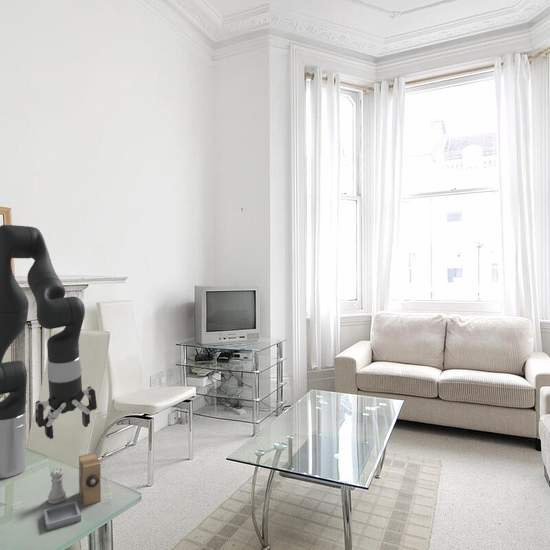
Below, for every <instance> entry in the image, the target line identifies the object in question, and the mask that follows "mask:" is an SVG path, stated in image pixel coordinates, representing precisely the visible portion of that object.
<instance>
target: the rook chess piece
mask: <svg viewBox="0 0 550 550" xmlns="http://www.w3.org/2000/svg"><path fill="white" fill-rule="evenodd" d="M64 473H65V472H64V471H63V468H62V467H59V468H58V467H57V468H54V469H52V470H51V473H50V474H49V475H50V477H51V488H50V489H51V490H50V492H49V494H48V496H47V502H48V503H49V504H51V505H58V504H60V503H63V502H64V501H65V500H66V499H67V491H66V490H65V488H64V485H63V480H64V478H63V475H64Z"/></svg>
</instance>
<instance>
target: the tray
mask: <svg viewBox="0 0 550 550" xmlns="http://www.w3.org/2000/svg"><path fill="white" fill-rule="evenodd" d="M43 520H44V525H45V530H46V532H48V531H52V530H56V529H58V528H62V527H65V526H68V525H71V524H76V523H79V522H81V521H82V513H81V511H80V508H79V506H78V502H77V500H74V501H72V502H67V503H63V504H61V505H60V504H59V505H57V506H54V507H49V508H46V509H43Z"/></svg>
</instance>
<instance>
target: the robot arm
mask: <svg viewBox="0 0 550 550" xmlns="http://www.w3.org/2000/svg"><path fill="white" fill-rule="evenodd" d="M12 259H26V260H27V259H33V260H34V261H33V263H32V265H31V267H30V268H29V270H28V272H27V276H26V277H27V279H26V280H27V285H28V286H29V289H30V291H31V292H32V294H33V296H34V299H35V303H36V319H37V323H38V325H39V326H41V328H43V329H47V330H53V329H57V328H58V329H59V328H63V327H64V328H63V330H61V331H59V332H58V333H55V334H53V335H51V336H49V338H48V339H47V343H46V347H47V348H46V349H47V380H48V391H49V393H48V395H49V396H48V399H47V400H45V401H41V400H36V401H35V408H34V410H35V417H34V418H35V420H34V421H35V423H36V424H37V426H38V427H39V428H42V427H44V432H45V433H44V435H45V436H46V437H47V438H49V440H52V439H54V428H53V427H54V426H53V423H54V422H55V420H56V419H58V417H59V416H60V414H62V415H63V414H66V413H68V412H73V411H75V410H76V408H77V409H78V410H80V411H81V422H82V425H83V427H84V428H87V427H89V425H90V422H91V418H90V416H91V415H90V414H91V412H92V411H96V410H97V408H98V405H97V397H96V390H95V389H94V388H93V387H92V386H88V387H87V388H86V389H84V390H83V384H82V371H83V370H82V364H81V360H80V346H79V345H80V344H79V342H80V341H79V340H80V335H81V331H82V327H83V323H84V319H85V316H86V314H85V313H86V307H85V304H84V302H83V301H82V299H80V298H79V297H78V296H67V297H66V296H65V295H66V288H65V286H64V285H63V282H61V279H60V278H59V276H58V274H57V272H56V271H55V268H54V266H53V263H52V259H51V257H50V252H49V250H48V247H47V244H46V241H45V238H44V236H43V233H42V232H41V231H40V229H38V228H37V227H35V226H30V225H28V226H27V225H26V226H25V225H16V224H15V225H14V224H2V225H0V395H5V394H8V395H7V396H6V397H5V398H3V399H2V400H1V401H0V479H7V478H11V477H14V476H17V475H19V474H21V473H23V472H24V471H25V470H26V467H27V466H26V465H27V462H26V460H27V459H26V458H27V457H26V455H27V454H26V452H27V451H26V449H27V448H26V405H27V388H28V387H27V384H28V372H27V371H28V370H27V367H26V364H25V362H24V361H22V360H12V361H5V362H4V361H3V360H4V357H5V355H6V352H7V351H8V349H9V348H10V346H11V345H12V344H13V343H14V341H16V340H17V337H19V335H21V333H22V332H23V330H24V329H25V327H26V325H27V322H28V315H29V307H30V305H29V299H28V297H27V295H26V293H25V291H24V290H23V289H22V287H21V285H20V284H19V282H18V281H17V280H16V279H17V278H15V275H14V273H13V269H12ZM85 396H86V397H87V399H88V404H87V405H85V404H84V403H83V402H81V401H82V400H83V399H84V397H85ZM47 407H50V408H49V410H48V411H47ZM45 411H47V415H46V416H45V415H44V414H45V413H44V412H45ZM44 417H45V418H44Z"/></svg>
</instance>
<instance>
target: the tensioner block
mask: <svg viewBox="0 0 550 550" xmlns="http://www.w3.org/2000/svg"><path fill="white" fill-rule="evenodd" d="M101 486H102V485H101V463H100V461H99V458H98V456H97V455H96V453H95V452H92V453H86V454H82V455H78V493H79V496H80V498H81V501H82V504H83V506H84V507H85V506H89V505H92V504H95V503H96V504H97V503H100V502H101V499H102V498H101V492H102V491H101Z"/></svg>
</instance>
